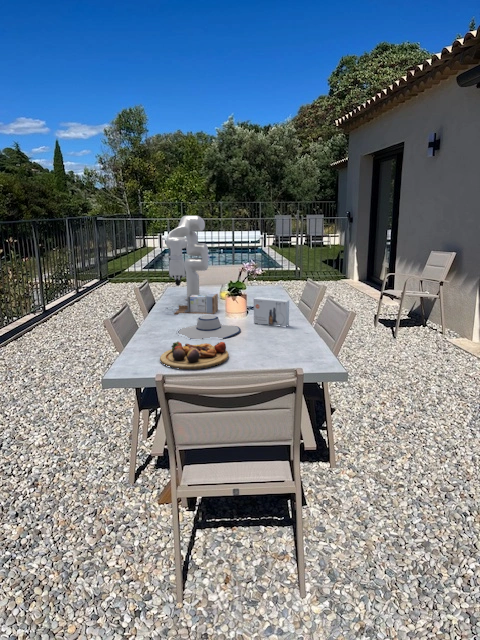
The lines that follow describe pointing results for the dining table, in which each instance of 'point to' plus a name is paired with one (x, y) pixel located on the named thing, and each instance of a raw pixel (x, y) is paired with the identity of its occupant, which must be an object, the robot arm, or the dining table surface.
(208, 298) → the book
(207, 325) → the sun hat
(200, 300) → the light bulb box
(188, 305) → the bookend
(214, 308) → the shelf
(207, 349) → the wooden plate with food
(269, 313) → the skincare box
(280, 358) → the dining table surface
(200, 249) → the robot arm
